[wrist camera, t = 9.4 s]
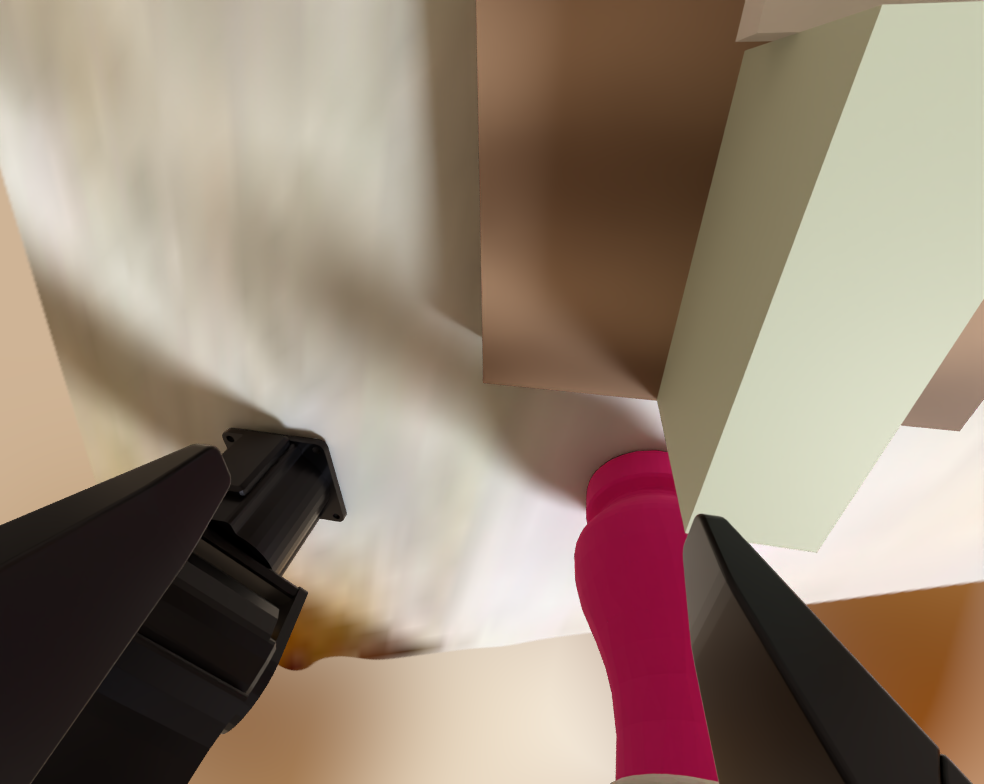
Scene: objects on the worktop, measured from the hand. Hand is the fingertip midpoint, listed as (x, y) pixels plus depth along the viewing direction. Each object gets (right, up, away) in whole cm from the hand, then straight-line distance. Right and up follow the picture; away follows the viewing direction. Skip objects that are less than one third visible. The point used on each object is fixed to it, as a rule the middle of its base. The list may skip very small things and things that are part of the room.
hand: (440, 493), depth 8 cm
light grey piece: (+8, +7, +4) cm, 12 cm away
